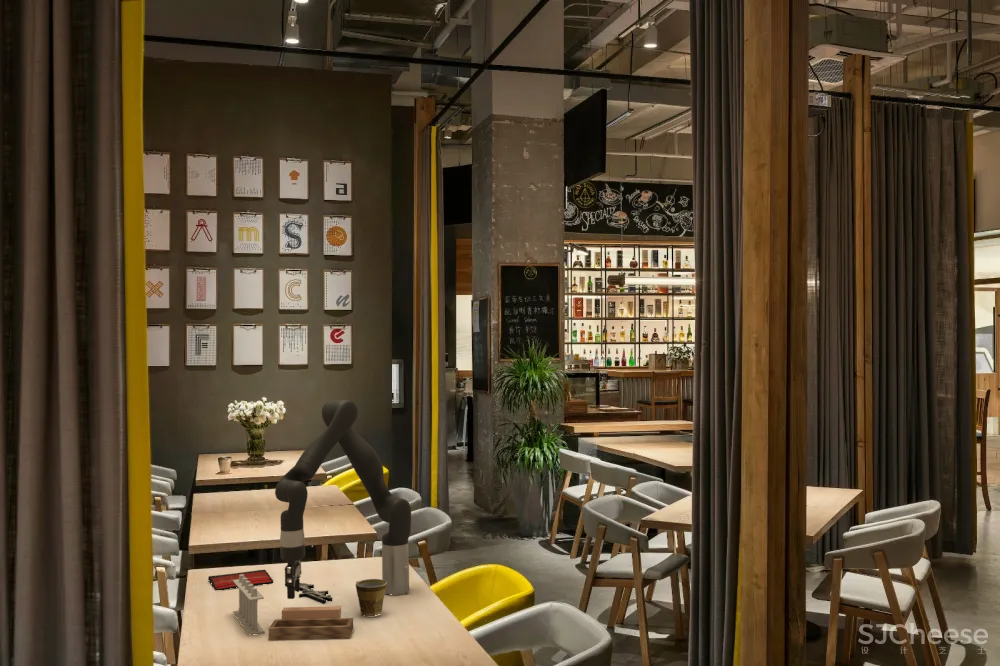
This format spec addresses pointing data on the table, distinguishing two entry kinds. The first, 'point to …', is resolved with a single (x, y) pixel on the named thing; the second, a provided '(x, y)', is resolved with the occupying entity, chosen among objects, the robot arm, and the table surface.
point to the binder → (227, 580)
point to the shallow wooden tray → (311, 629)
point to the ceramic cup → (371, 596)
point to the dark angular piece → (314, 593)
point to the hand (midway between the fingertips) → (293, 594)
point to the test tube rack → (248, 605)
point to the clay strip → (311, 612)
